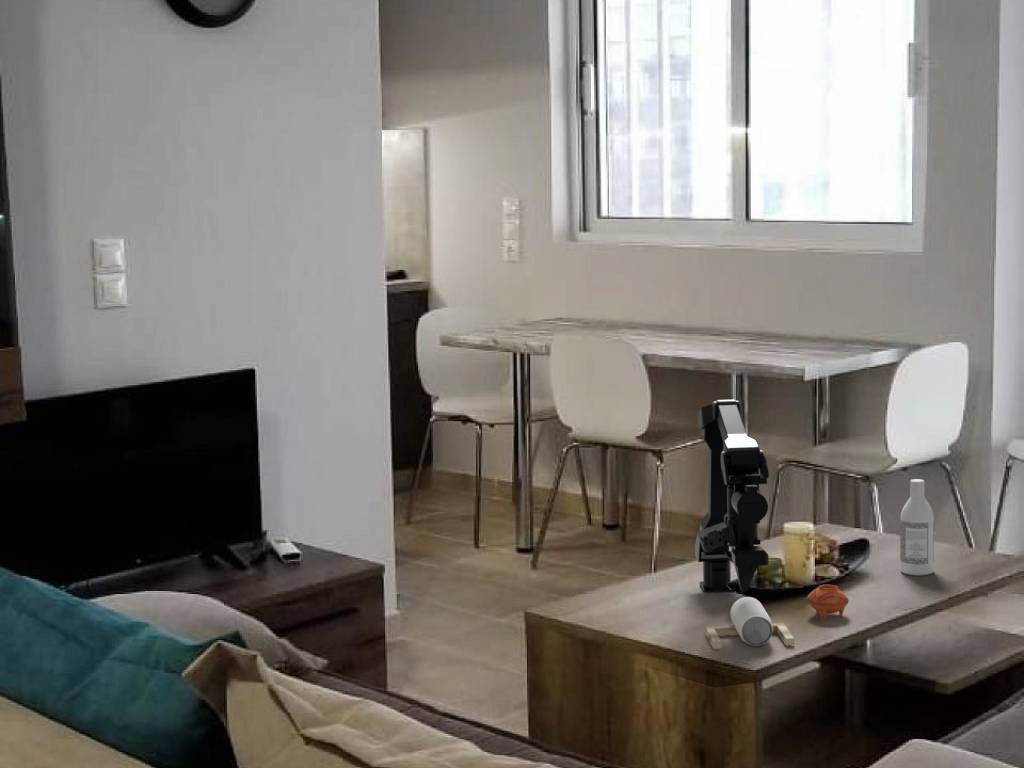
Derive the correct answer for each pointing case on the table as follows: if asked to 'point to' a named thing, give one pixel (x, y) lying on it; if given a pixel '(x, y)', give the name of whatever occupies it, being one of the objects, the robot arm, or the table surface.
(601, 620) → the table surface
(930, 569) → the bath foam
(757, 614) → the can
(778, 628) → the cradle
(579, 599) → the table surface
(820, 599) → the pot
